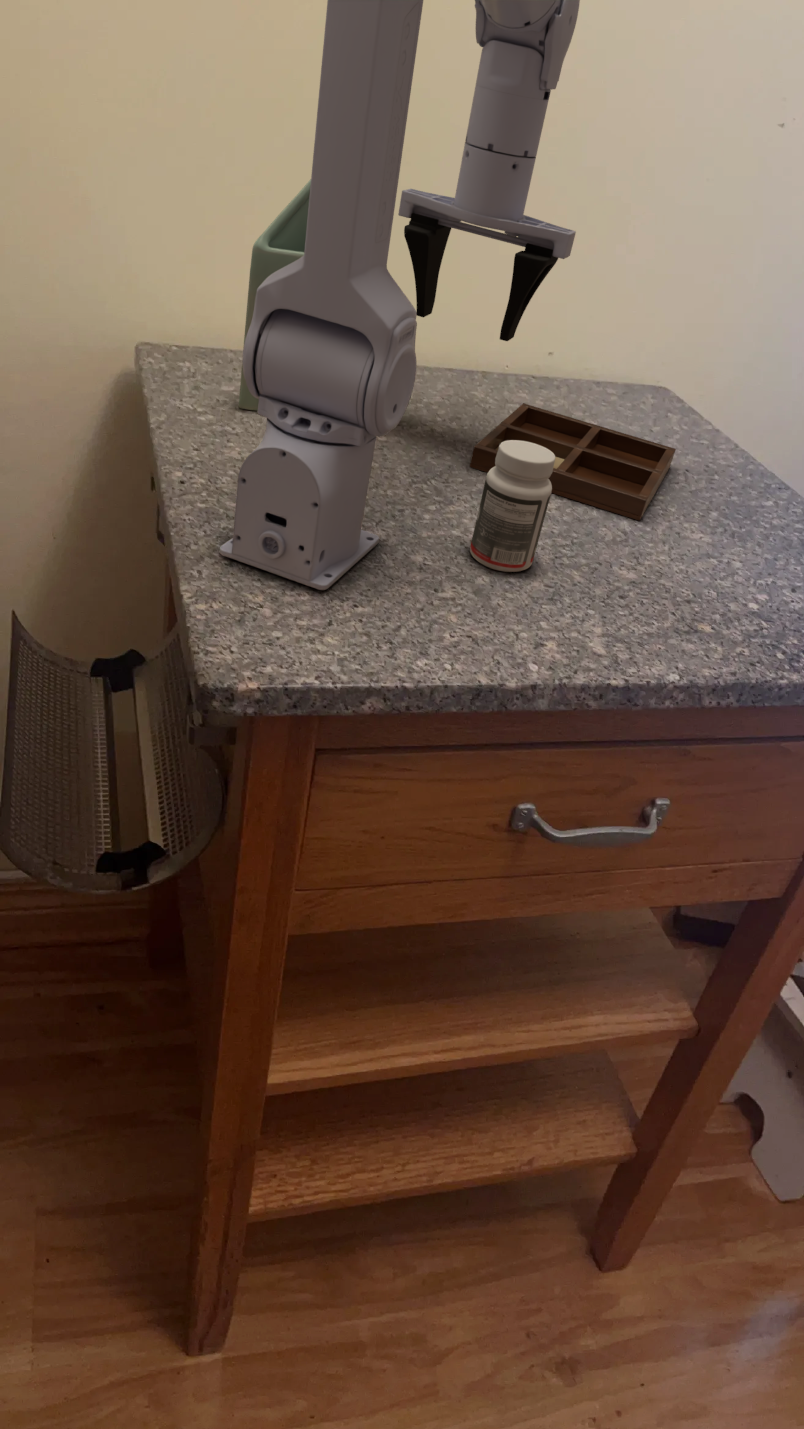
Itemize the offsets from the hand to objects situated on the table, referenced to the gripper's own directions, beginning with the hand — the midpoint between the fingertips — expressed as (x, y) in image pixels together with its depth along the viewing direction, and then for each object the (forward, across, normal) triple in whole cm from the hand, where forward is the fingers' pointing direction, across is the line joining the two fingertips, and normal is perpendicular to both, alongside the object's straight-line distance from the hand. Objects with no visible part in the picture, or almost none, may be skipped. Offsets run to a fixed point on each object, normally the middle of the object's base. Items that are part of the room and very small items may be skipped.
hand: (464, 326), depth 89 cm
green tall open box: (+10, +11, +1) cm, 15 cm away
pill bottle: (+10, -12, +20) cm, 25 cm away
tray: (+10, -12, -3) cm, 16 cm away
